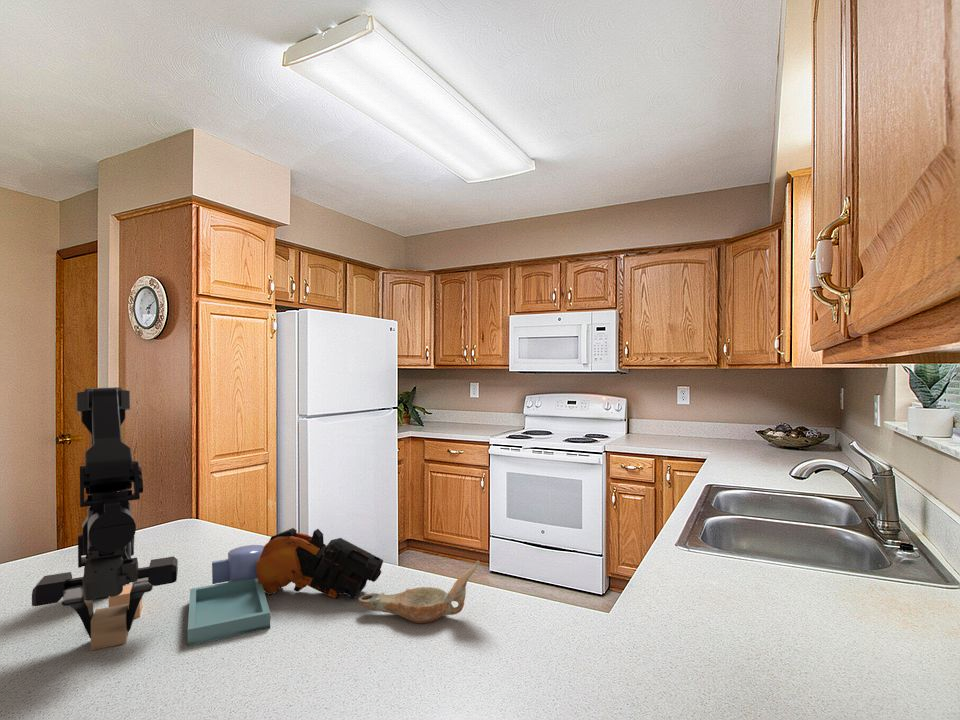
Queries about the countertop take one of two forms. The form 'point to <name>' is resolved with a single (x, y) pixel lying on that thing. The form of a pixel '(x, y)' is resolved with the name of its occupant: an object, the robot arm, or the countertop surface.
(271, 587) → the tool
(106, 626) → the block walnut
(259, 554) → the mug
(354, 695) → the countertop surface
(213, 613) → the tray
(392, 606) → the oil lamp
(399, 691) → the countertop surface
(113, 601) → the block terracotta
